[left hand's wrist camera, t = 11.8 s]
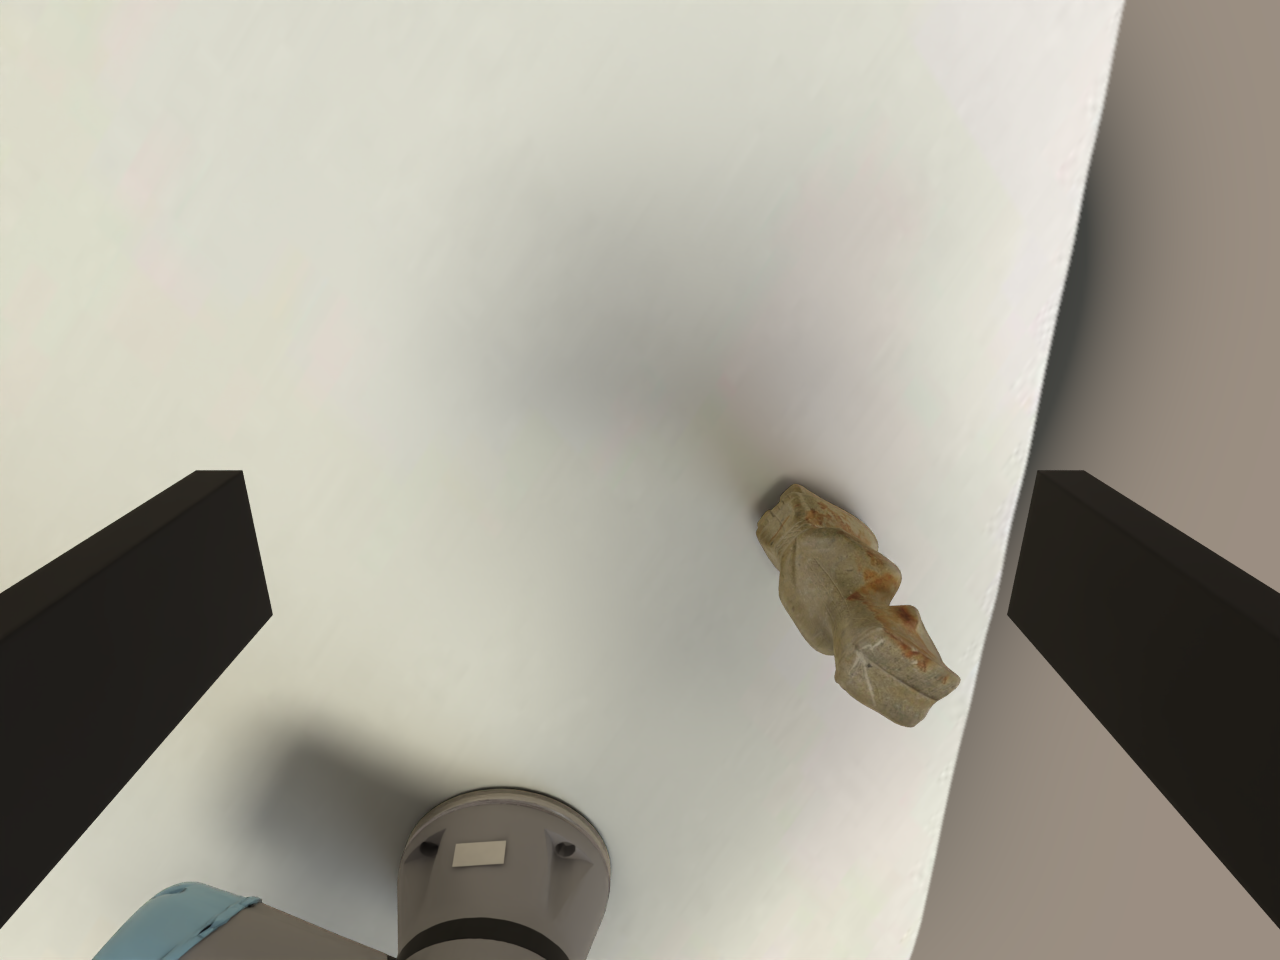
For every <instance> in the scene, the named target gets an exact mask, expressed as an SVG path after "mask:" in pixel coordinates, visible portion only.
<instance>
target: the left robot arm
mask: <svg viewBox="0 0 1280 960" xmlns="http://www.w3.org/2000/svg"><path fill="white" fill-rule="evenodd" d="M272 615H273V613H272V609H271V604H270V599H269V594H268V590H267V585H266V580H265V575H264V571H263V566H262V561H261V556H260V552H259V547H258V542H257V537H256V533H255V528H254V523H253V518H252V513H251V509H250V504H249V499H248V494H247V490H246V485H245V480H244V475H243V471H242V470H196V471H194V472H193V473H191V474H190V475H188V476H186V477H185V478H183V479H182V480H180V481H178V482H177V483H175V484H174V485H172V486H171V487H169V488H167V489H166V490H164V491H163V492H161V493H159V494H158V495H156V496H155V497H153V498H151V499H150V500H148V501H147V502H145V503H143V504H142V505H140V506H139V507H137V508H136V509H134V510H132V511H131V512H129V513H128V514H126V515H124V516H123V517H121V518H120V519H118V520H116V521H115V522H113V523H112V524H110V525H108V526H107V527H105V528H104V529H102V530H101V531H99V532H97V533H96V534H94V535H93V536H91V537H89V538H88V539H86V540H85V541H83V542H81V543H80V544H78V545H77V546H75V547H73V548H72V549H70V550H69V551H67V552H66V553H64V554H62V555H61V556H59V557H58V558H56V559H54V560H53V561H51V562H50V563H48V564H46V565H45V566H43V567H42V568H40V569H38V570H37V571H35V572H34V573H32V574H31V575H29V576H27V577H26V578H24V579H23V580H21V581H19V582H18V583H16V584H15V585H13V586H11V587H10V588H8V589H7V590H5V591H3V592H2V593H0V929H1V928H2V927H3V925H4V924H5V923H6V922H7V921H8V920H9V918H10V917H11V916H12V915H13V914H14V913H15V912H16V910H17V909H18V908H19V907H20V906H21V905H22V903H23V902H24V901H25V900H26V899H27V898H28V897H29V895H30V894H31V893H32V892H33V891H34V890H35V888H36V887H37V886H38V885H39V884H40V883H41V882H42V880H43V879H44V878H45V877H46V876H47V875H48V873H49V872H50V871H51V870H52V869H53V868H54V867H55V865H56V864H57V863H58V862H59V861H60V860H61V858H62V857H63V856H64V855H65V854H66V853H67V852H68V850H69V849H70V848H71V847H72V846H73V845H74V843H75V842H76V841H77V840H78V839H79V838H80V837H81V835H82V834H83V833H84V832H85V831H86V830H87V828H88V827H89V826H90V825H91V824H92V823H93V822H94V820H95V819H96V818H97V817H98V816H99V815H100V814H101V812H102V811H103V810H104V809H105V808H106V807H107V805H108V804H109V803H110V802H111V801H112V800H113V799H114V797H115V796H116V795H117V794H118V793H119V792H120V790H121V789H122V788H123V787H124V786H125V785H126V784H127V782H128V781H129V780H130V779H131V778H132V777H133V775H134V774H135V773H136V772H137V771H138V770H139V769H140V767H141V766H142V765H143V764H144V763H145V762H146V760H147V759H148V758H149V757H150V756H151V755H152V754H153V752H154V751H155V750H156V749H157V748H158V747H159V745H160V744H161V743H162V742H163V741H164V740H165V739H166V737H167V736H168V735H169V734H170V733H171V732H172V730H173V729H174V728H175V727H176V726H177V725H178V724H179V722H180V721H181V720H182V719H183V718H184V717H185V715H186V714H187V713H188V712H189V711H190V710H191V709H192V707H193V706H194V705H195V704H196V703H197V702H198V701H199V699H200V698H201V697H202V696H203V695H204V694H205V692H206V691H207V690H208V689H209V688H210V687H211V686H212V684H213V683H214V682H215V681H216V680H217V679H218V677H219V676H220V675H221V674H222V673H223V672H224V671H225V669H226V668H227V667H228V666H229V665H230V664H231V662H232V661H233V660H234V659H235V658H236V657H237V656H238V654H239V653H240V652H241V651H242V650H243V649H244V647H245V646H246V645H247V644H248V643H249V642H250V641H251V639H252V638H253V637H254V636H255V635H256V634H257V632H258V631H259V630H260V629H261V628H262V627H263V626H264V624H265V623H266V622H267V621H268V620H269V619H270V617H271V616H272ZM1007 615H1008V616H1009V617H1010V619H1011V620H1012V621H1013V622H1014V623H1015V624H1016V626H1017V627H1018V628H1019V629H1020V630H1021V631H1022V632H1023V634H1024V635H1025V636H1026V637H1027V638H1028V639H1029V641H1030V642H1031V643H1032V644H1033V645H1034V646H1035V647H1036V649H1037V650H1038V651H1039V652H1040V653H1041V654H1042V655H1043V657H1044V658H1045V659H1046V660H1047V661H1048V662H1049V664H1050V665H1051V666H1052V667H1053V668H1054V669H1055V671H1056V672H1057V673H1058V674H1059V675H1060V676H1061V677H1062V679H1063V680H1064V681H1065V682H1066V683H1067V684H1068V686H1069V687H1070V688H1071V689H1072V690H1073V691H1074V692H1075V694H1076V695H1077V696H1078V697H1079V698H1080V699H1081V701H1082V702H1083V703H1084V704H1085V705H1086V706H1087V707H1088V709H1089V710H1090V711H1091V712H1092V713H1093V714H1094V715H1095V717H1096V718H1097V719H1098V720H1099V721H1100V722H1101V724H1102V725H1103V726H1104V727H1105V728H1106V729H1107V730H1108V732H1109V733H1110V734H1111V735H1112V736H1113V737H1114V739H1115V740H1116V741H1117V742H1118V743H1119V744H1120V745H1121V747H1122V748H1123V749H1124V750H1125V751H1126V752H1127V754H1128V755H1129V756H1130V757H1131V758H1132V759H1133V760H1134V762H1135V763H1136V764H1137V765H1138V766H1139V767H1140V769H1141V770H1142V771H1143V772H1144V773H1145V774H1146V775H1147V777H1148V778H1149V779H1150V780H1151V781H1152V782H1153V784H1154V785H1155V786H1156V787H1157V788H1158V789H1159V790H1160V792H1161V793H1162V794H1163V795H1164V796H1165V797H1166V798H1167V800H1168V801H1169V802H1170V803H1171V804H1172V805H1173V807H1174V808H1175V809H1176V810H1177V811H1178V812H1179V814H1180V815H1181V816H1182V817H1183V818H1184V819H1185V820H1186V821H1187V823H1188V824H1189V825H1190V826H1191V827H1192V828H1193V830H1194V831H1195V832H1196V833H1197V834H1198V835H1199V837H1200V838H1201V839H1202V840H1203V841H1204V842H1205V843H1206V845H1207V846H1208V847H1209V848H1210V849H1211V850H1212V852H1213V853H1214V854H1215V855H1216V856H1217V857H1218V858H1219V860H1220V861H1221V862H1222V863H1223V864H1224V865H1225V866H1226V868H1227V869H1228V870H1229V871H1230V872H1231V873H1232V875H1233V876H1234V877H1235V878H1236V879H1237V880H1238V882H1239V883H1240V884H1241V885H1242V886H1243V887H1244V888H1245V890H1246V891H1247V892H1248V893H1249V894H1250V895H1251V897H1252V898H1253V899H1254V900H1255V901H1256V902H1257V903H1258V905H1259V906H1260V907H1261V908H1262V909H1263V910H1264V912H1265V913H1266V914H1267V915H1268V916H1269V917H1270V918H1271V920H1272V921H1273V922H1274V923H1275V924H1276V925H1277V927H1278V928H1279V929H1280V593H1278V592H1277V591H1275V590H1273V589H1272V588H1270V587H1269V586H1267V585H1265V584H1264V583H1262V582H1261V581H1259V580H1257V579H1256V578H1254V577H1253V576H1251V575H1249V574H1248V573H1246V572H1245V571H1243V570H1242V569H1240V568H1238V567H1237V566H1235V565H1234V564H1232V563H1230V562H1229V561H1227V560H1226V559H1224V558H1222V557H1221V556H1219V555H1218V554H1216V553H1214V552H1213V551H1211V550H1210V549H1208V548H1207V547H1205V546H1203V545H1202V544H1200V543H1199V542H1197V541H1195V540H1194V539H1192V538H1191V537H1189V536H1187V535H1186V534H1184V533H1183V532H1181V531H1179V530H1178V529H1176V528H1175V527H1173V526H1172V525H1170V524H1168V523H1167V522H1165V521H1164V520H1162V519H1160V518H1159V517H1157V516H1156V515H1154V514H1152V513H1151V512H1149V511H1148V510H1146V509H1144V508H1143V507H1141V506H1140V505H1138V504H1136V503H1135V502H1133V501H1132V500H1130V499H1129V498H1127V497H1125V496H1124V495H1122V494H1121V493H1119V492H1117V491H1116V490H1114V489H1113V488H1111V487H1109V486H1108V485H1106V484H1105V483H1103V482H1102V481H1100V480H1098V479H1097V478H1095V477H1094V476H1092V475H1090V474H1089V473H1087V472H1086V471H1084V470H1038V471H1037V475H1036V480H1035V485H1034V490H1033V494H1032V499H1031V504H1030V509H1029V514H1028V518H1027V523H1026V528H1025V532H1024V537H1023V542H1022V547H1021V552H1020V556H1019V561H1018V566H1017V571H1016V575H1015V580H1014V585H1013V590H1012V594H1011V599H1010V604H1009V609H1008V613H1007ZM610 871H611V867H610V859H609V855H608V851H607V849H606V846H605V844H604V842H603V840H602V838H601V837H600V835H599V834H598V832H597V831H596V830H595V828H594V827H593V826H592V825H591V824H590V823H589V822H588V821H587V820H586V819H585V818H584V817H583V816H581V815H580V814H579V813H578V812H576V811H575V810H573V809H572V808H570V807H568V806H567V805H565V804H563V803H561V802H559V801H557V800H554V799H552V798H549V797H547V796H544V795H541V794H537V793H533V792H528V791H523V790H515V789H486V790H479V791H474V792H469V793H465V794H462V795H459V796H456V797H454V798H451V799H449V800H447V801H445V802H443V803H441V804H439V805H438V806H436V807H435V808H433V809H432V810H431V811H429V812H428V813H427V814H426V815H425V816H424V817H423V818H422V819H421V820H420V821H419V822H418V823H417V825H416V826H415V828H414V829H413V831H412V832H411V834H410V837H409V839H408V841H407V844H406V847H405V850H404V853H403V855H402V859H401V862H400V867H399V874H398V881H397V898H398V956H397V958H394V957H392V956H389V955H387V954H385V953H383V952H380V951H378V950H375V949H373V948H370V947H368V946H365V945H363V944H360V943H358V942H355V941H352V940H350V939H347V938H345V937H342V936H340V935H338V934H335V933H333V932H330V931H328V930H326V929H323V928H321V927H318V926H316V925H314V924H311V923H309V922H306V921H304V920H302V919H299V918H297V917H294V916H292V915H290V914H287V913H285V912H283V911H280V910H278V909H275V908H273V907H271V906H268V905H266V904H263V903H262V900H261V899H260V898H258V897H247V898H245V897H242V896H239V895H235V894H232V893H229V892H226V891H223V890H220V889H217V888H215V887H212V886H209V885H206V884H203V883H199V882H184V883H179V884H176V885H173V886H171V887H169V888H166V889H164V890H163V891H161V892H159V893H158V894H157V895H155V896H154V897H153V898H151V899H150V900H149V901H148V902H146V903H145V904H144V905H143V906H142V907H141V908H140V909H139V910H137V911H136V912H135V913H134V914H133V915H132V916H131V917H130V918H129V919H128V920H127V921H126V922H125V923H124V924H123V926H122V927H121V928H120V929H119V930H118V931H117V932H116V933H115V934H114V935H113V936H112V938H111V939H110V940H109V941H108V942H107V943H106V944H105V945H104V946H103V947H102V949H101V950H100V951H99V952H98V953H97V954H96V955H95V957H94V958H93V959H92V960H586V958H587V955H588V953H589V950H590V948H591V945H592V943H593V941H594V938H595V936H596V933H597V931H598V929H599V926H600V924H601V921H602V919H603V916H604V913H605V910H606V906H607V902H608V898H609V892H610Z"/></svg>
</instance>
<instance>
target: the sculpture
mask: <svg viewBox="0 0 1280 960" xmlns="http://www.w3.org/2000/svg"><path fill="white" fill-rule="evenodd" d="M757 526H758V529H757V531H756V535H757V538H758V540H759V542H760V544H761V546H762V547H763V549H764V551H765V553H766V554H767V556H768V558H769V559H770V560H771V562H772V563H773V565H774V566H775V567H776V568H777V569H778V570H779V571H780V577H779V597H780V600H781V602H782V604H783V606H784V608H785V609H786V611H787V612H788V614H789V615H790V617H791V618H792V620H793V621H794V623H795V625H796V626H797V628H798V629H799V631H800V633H801V634H802V636H803V637H804V638H805V640H806V641H807V642H808V643H809V645H810V646H811V647H813V648H814V649H815V650H816V651H818V652H820V653H822V654H825V655H834V657H835V664H836V672H835V676H834V677H835V681H836V682H837V683H838V684H840V686H841V687H842V688H843V689H844V690H846V691H847V692H848V693H849V694H850V695H851V696H852V697H853V698H855V699H856V700H857V701H859V702H860V703H862V704H864V705H865V706H867V707H869V708H871V709H873V710H875V711H876V712H878V713H880V714H881V715H883V716H885V717H886V718H888V719H889V720H891V721H892V722H894V723H896V724H899V725H901V726H905V727H914V726H915V725H916V724H918V723H919V722H920V721H922V720H923V719H924V718H925V717H926V715H927V713H928V711H929V709H930V708H931V707H932V705H933V704H934V703H936V702H937V701H938V700H940V699H942V698H944V697H945V696H947V695H948V694H949V693H951V692H952V691H953V690H955V689H956V687H957V686H958V685H959V683H960V680H961V679H960V677H959V676H958V675H956V674H955V673H954V672H953V671H951V670H950V669H949V668H948V667H947V666H946V665H945V664H944V663H943V661H942V659H941V657H940V654H939V652H938V651H937V649H936V647H935V645H934V643H933V641H932V640H931V638H930V636H929V634H928V633H927V631H926V629H925V627H924V625H923V623H922V620H921V617H920V614H919V612H918V610H917V609H916V608H915V607H914V606H911V605H900V606H889V604H890V602H891V600H892V598H893V597H894V595H895V593H896V592H897V590H898V588H899V586H900V583H901V579H902V576H901V572H900V570H899V568H898V567H897V566H896V565H895V564H894V563H892V562H891V561H890V560H889V559H887V558H886V557H885V556H883V555H882V554H880V553H879V552H878V542H877V539H876V537H875V535H874V534H873V533H872V531H871V530H870V529H869V528H868V527H867V526H866V525H865V524H864V523H863V522H861V521H860V520H859V519H857V518H856V517H855V516H853V515H851V514H850V513H848V512H846V511H845V510H843V509H841V508H839V507H837V506H835V505H833V504H831V503H829V502H827V501H825V500H823V499H821V498H820V497H818V496H817V495H815V494H814V493H812V492H810V491H808V490H807V489H806V488H805V487H803V486H801V485H798V484H793V485H791V486H790V487H789V488H788V489H787V490H786V491H785V492H784V493H783V494H782V495H781V496H780V502H779V503H778V504H777V505H776V506H775V507H774V508H773V509H772V510H768V511H766V512H765V514H764V515H763V516H762V518H761V519H760V520H759V522H758V524H757Z"/></svg>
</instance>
